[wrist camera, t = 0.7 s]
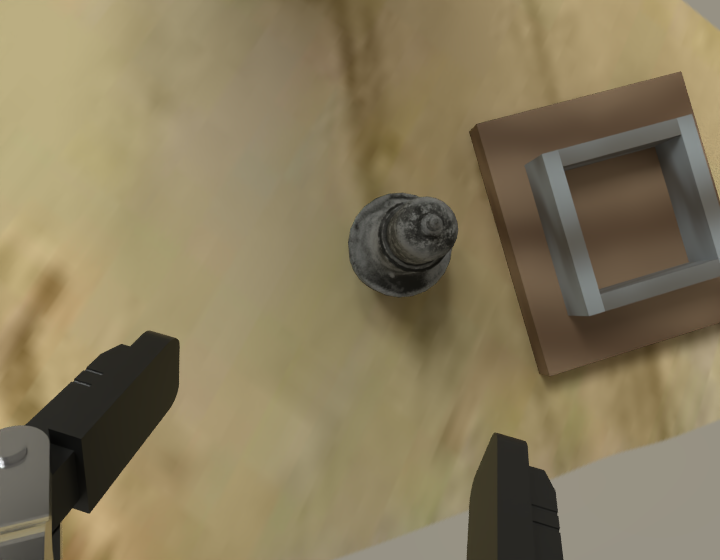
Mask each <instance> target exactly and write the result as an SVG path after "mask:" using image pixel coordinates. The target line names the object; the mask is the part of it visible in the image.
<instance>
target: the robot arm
mask: <svg viewBox="0 0 720 560" xmlns="http://www.w3.org/2000/svg"><path fill="white" fill-rule="evenodd" d="M179 349H180V346H179V340H178V339H177V338H174V337H170V336H167V335H163V334H160V333H156V332H153V331H146V332H145V333H143V334H142V335H141V336H140V337H139V338H138V339H137V340H136V341H135V342H134V343H133V344H132V345H131V346H126V345H123V344H121V345H118V346H116V347H114V348H112V349H110V350H108V351H106V352H104V353H102V354H100V355H99V356H98V357H97V358H96V359H95V360H94V361H93V362H92V363H91V364H90V365H89V366H88V367H87V368H86V370H85V371H84V370H83V371H82V372H81V373H80V374H79V375H78V376H77V377H76V378H75V379H74V382H71V383H70V384H68V385H67V386H66V387H65V388H64V389H63V390H62V391H61V392H60V393H59V394H58V395H57V396H56V397H55V398H54V399H53V400H51V401H50V402H49V403H48V404H47V405H46V406H45V407H44V408H43V409H42V410H41V411H40V412H39V413H38V414H37V415H36V416H35V417H33V418H32V419H31V420H30V421H29V422H28V423H27V424H26V425H25V426H12V427H7V428H3V429H0V560H63V558H62V522H61V521H62V520H63V519H64V518H65V516H66V515H67V514H68V513H69V512H70V510H71V509H72V508H74V509H77V510H80V511H83V512H86V513H89V514H90V512H91V511H92V510H93V508H94V507H95V506H96V504H97V503H98V502H99V501H100V499H101V498H102V497H103V495H104V494H105V493H106V491H107V490H108V489H109V487H110V486H111V485H112V484H113V482H114V481H115V480H116V478H117V477H118V476H119V474H120V473H121V472H122V470H123V469H124V468H125V467H126V465H127V464H128V463H129V461H130V460H131V459H132V457H133V456H134V455H135V454H136V452H137V451H138V450H139V448H140V447H141V446H142V444H143V443H144V442H145V440H146V439H147V438H148V437H149V435H150V434H151V433H152V431H153V430H154V429H155V427H156V426H157V425H158V423H159V422H160V421H161V420H162V418H163V417H164V416H165V414H166V413H167V412H168V410H169V409H170V408H171V406H172V404H173V402H174V400H175V398H176V395H177V392H178V387H179ZM557 512H558V509H557V501H556V492H555V490H554V488H553V486H552V484H551V482H550V480H549V478H548V476H547V474H546V473H545V471H544V470H541V469H538V468H535V467H531V466H529V460H528V446H527V443H526V441H523V440H519V439H516V438H512V437H509V436H506V435H502V434H499V433H494V434H493V435H492V437H491V439H490V442H489V444H488V446H487V449H486V451H485V454H484V456H483V458H482V461H481V463H480V465H479V468H478V470H477V472H476V475H475V478H474V481H473V485H472V489H471V495H470V505H469V524H468V544H467V560H563V553H562V544H561V536H560V533H559V529H560V527H559V518H558V516H557Z"/></svg>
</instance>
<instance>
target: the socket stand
mask: <svg viewBox="0 0 720 560" xmlns="http://www.w3.org/2000/svg"><path fill="white" fill-rule="evenodd" d="M470 136H471V139H472V143H473V146H474V150H475V153H476V157H477V160H478V163H479V167H480V170H481V174H482V177H483V181H484V184H485V188H486V191H487V194H488V198H489V201H490V205H491V208H492V212H493V215H494V219H495V222H496V225H497V229H498V232H499V236H500V239H501V243H502V246H503V250H504V253H505V257H506V260H507V263H508V267H509V270H510V274H511V277H512V281H513V284H514V288H515V291H516V294H517V298H518V301H519V305H520V308H521V312H522V315H523V319H524V322H525V325H526V329H527V332H528V336H529V339H530V343H531V346H532V350H533V353H534V356H535V360H536V363H537V367H538V370H539V373H540V374H544V375H547V376H552V375H556V374H559V373H562V372H565V371H568V370H571V369H575V368H578V367H581V366H584V365H587V364H590V363H594V362H597V361H600V360H603V359H606V358H610V357H613V356H616V355H619V354H622V353H625V352H629V351H632V350H635V349H638V348H641V347H644V346H648V345H651V344H654V343H657V342H660V341H664V340H667V339H670V338H673V337H676V336H679V335H683V334H686V333H689V332H692V331H695V330H699V329H702V328H705V327H708V326H711V325H714V324H718V323H720V200H719V197H718V194H717V190H716V187H715V184H714V180H713V177H712V173H711V170H710V167H709V163H708V160H707V157H706V153H705V150H704V147H703V143H702V140H701V137H700V133H699V130H698V126H697V123H696V120H695V116H694V113H693V110H692V106H691V103H690V100H689V96H688V93H687V89H686V86H685V83H684V79H683V76H682V73H681V72H677V73H673V74H669V75H665V76H661V77H658V78H654V79H650V80H646V81H642V82H638V83H634V84H630V85H627V86H623V87H619V88H615V89H611V90H607V91H603V92H599V93H595V94H592V95H588V96H584V97H580V98H576V99H572V100H568V101H564V102H560V103H557V104H553V105H549V106H545V107H541V108H537V109H533V110H529V111H525V112H522V113H518V114H514V115H510V116H506V117H502V118H498V119H494V120H490V121H487V122H483V123H479V124H476V125H475V126H474V127H473V128H472V129H471V131H470Z"/></svg>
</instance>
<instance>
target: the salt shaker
mask: <svg viewBox="0 0 720 560" xmlns="http://www.w3.org/2000/svg"><path fill="white" fill-rule="evenodd" d="M457 234H458V224H457V220H456V217H455V214H454V213H453V211H452V210H451V208H450V207H449V206H448V205H446V204H445V203H444V202H443V201H441V200H439V199H436V198H432V197H418V196H416V195H411V194H406V193H393V194H387V195H384V196H381V197H379V198H376V199H374V200H373V201H372V202H370V203H369V204H367V205H366V206H365V207H364V208H363V209H362V210H361V212H360V213H359V214H358V215H357V216H356V218H355V220H354V223H353V225H352V227H351V229H350V235H349V241H348V245H349V257H350V262H351V265H352V268H353V270H354V272H355V273H356V275H357V276H358V277H359V279H360V280H361V281H362V282H363V283H365V284H366V285H367V286H368V287H370V288H372V289H373V290H375V291H378V292H380V293H382V294H384V295H388V296H394V297H407V296H414V295H417V294H419V293H422V292H424V291H426V290H428V289H429V288H430V287H432V286H433V285H434V284H436V283H437V282H438V280H439V279H440V278H441V277H442V275H443V274H444V273H445V271H446V268H447V266H448V264H449V262H450V257H451V251H452V247H453V246H454V243H455V241H456V239H457Z"/></svg>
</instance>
